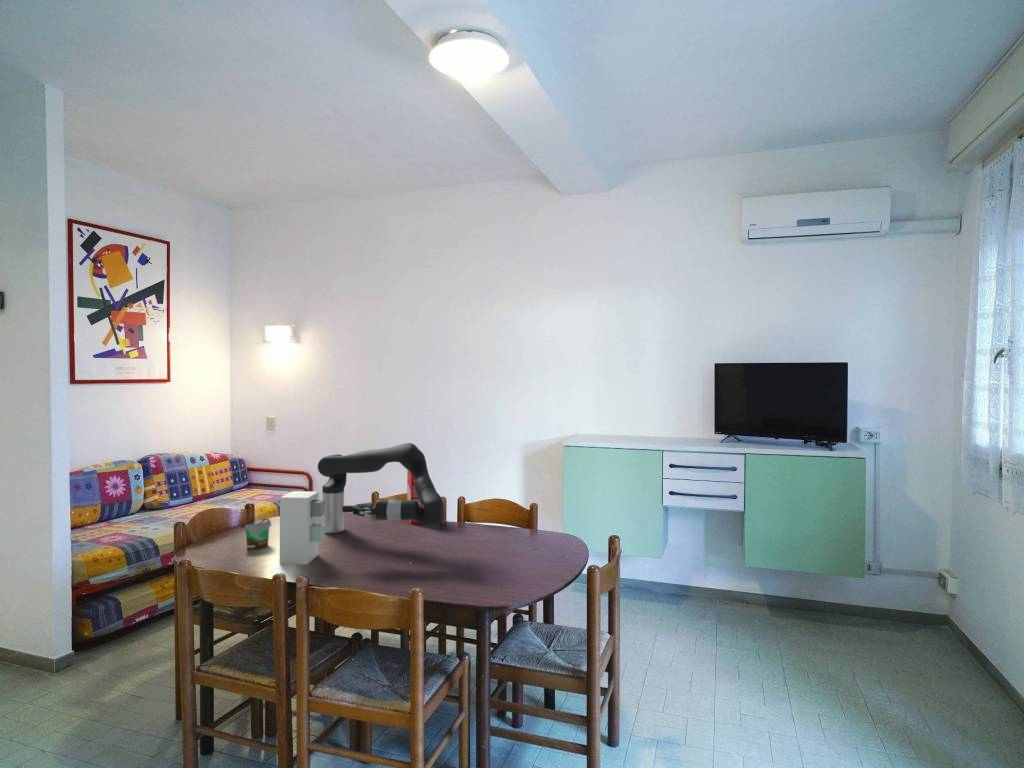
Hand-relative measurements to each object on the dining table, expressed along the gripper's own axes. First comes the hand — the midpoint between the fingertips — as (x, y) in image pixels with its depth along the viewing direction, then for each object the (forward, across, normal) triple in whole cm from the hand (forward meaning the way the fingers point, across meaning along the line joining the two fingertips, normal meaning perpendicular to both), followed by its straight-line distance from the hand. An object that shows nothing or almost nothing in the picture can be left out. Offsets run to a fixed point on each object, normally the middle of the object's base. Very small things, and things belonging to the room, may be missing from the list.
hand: (343, 508), depth 224 cm
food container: (+37, -16, +19) cm, 44 cm away
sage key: (+10, 0, +11) cm, 15 cm away
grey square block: (+10, 0, +2) cm, 11 cm away
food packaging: (-16, -64, +19) cm, 69 cm away
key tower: (+16, 0, +19) cm, 25 cm away
